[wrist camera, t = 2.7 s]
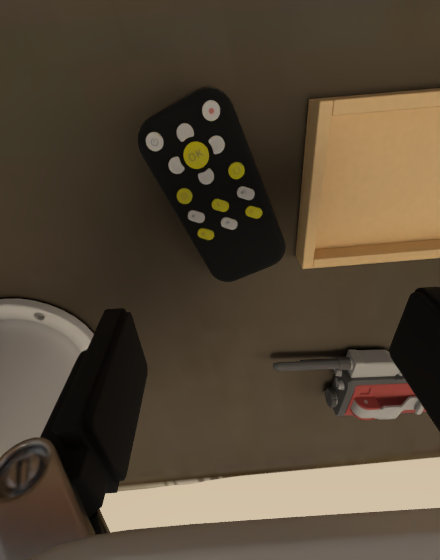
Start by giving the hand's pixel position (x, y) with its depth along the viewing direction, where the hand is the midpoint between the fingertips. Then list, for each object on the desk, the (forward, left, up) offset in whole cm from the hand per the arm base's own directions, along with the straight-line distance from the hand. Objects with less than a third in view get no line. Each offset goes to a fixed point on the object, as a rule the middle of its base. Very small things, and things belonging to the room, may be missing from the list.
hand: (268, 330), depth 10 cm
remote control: (-1, 0, -14) cm, 14 cm away
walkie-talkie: (+13, -21, -14) cm, 28 cm away
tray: (+13, 0, -14) cm, 19 cm away
